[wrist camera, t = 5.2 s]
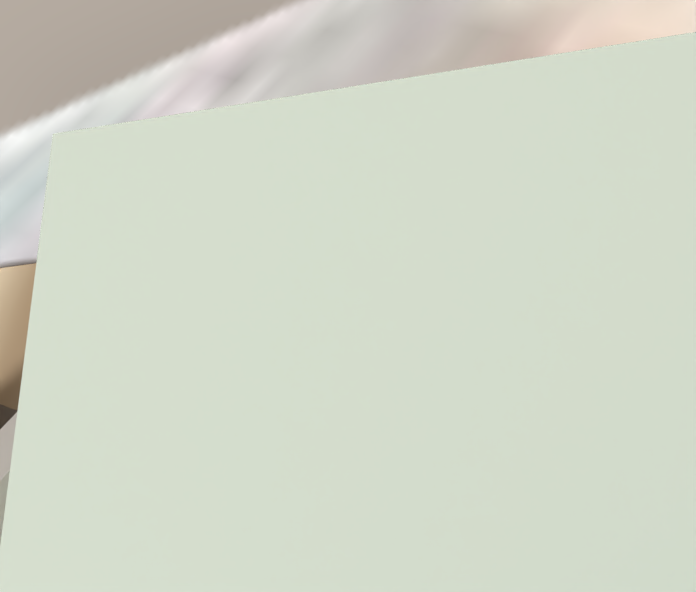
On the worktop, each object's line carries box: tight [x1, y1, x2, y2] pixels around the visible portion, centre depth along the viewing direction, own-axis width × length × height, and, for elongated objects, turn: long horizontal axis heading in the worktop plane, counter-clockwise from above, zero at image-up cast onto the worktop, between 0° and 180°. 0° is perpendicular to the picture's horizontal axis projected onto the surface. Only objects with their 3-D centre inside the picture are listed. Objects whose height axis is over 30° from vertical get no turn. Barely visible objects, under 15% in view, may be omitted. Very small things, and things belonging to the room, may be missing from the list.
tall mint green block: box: [0, 32, 696, 592], centre depth 9 cm, size 6×6×12 cm
